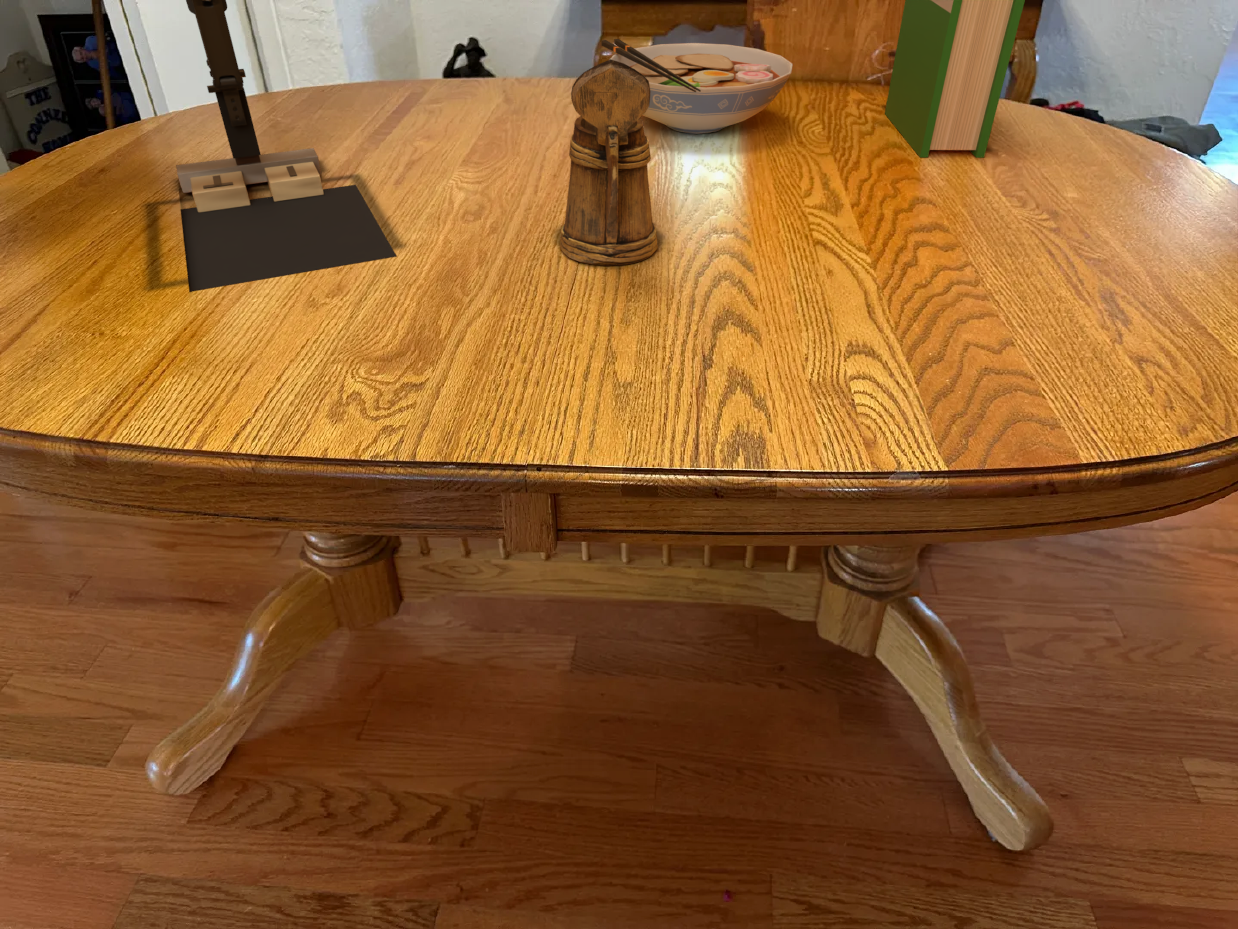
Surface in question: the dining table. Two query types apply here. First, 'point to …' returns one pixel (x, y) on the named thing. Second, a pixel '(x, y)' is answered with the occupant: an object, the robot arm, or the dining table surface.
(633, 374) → the dining table surface
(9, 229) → the dining table surface
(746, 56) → the ramen bowl
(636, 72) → the wooden mug
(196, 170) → the scraper
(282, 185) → the tile
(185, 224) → the mat
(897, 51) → the hardback book
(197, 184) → the tile
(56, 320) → the dining table surface
